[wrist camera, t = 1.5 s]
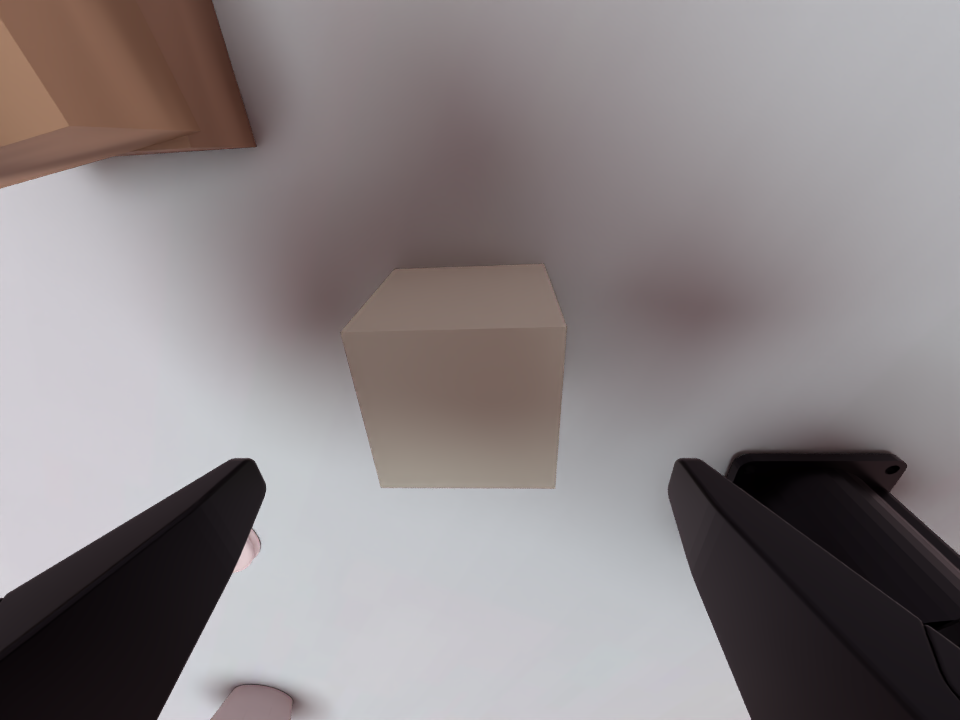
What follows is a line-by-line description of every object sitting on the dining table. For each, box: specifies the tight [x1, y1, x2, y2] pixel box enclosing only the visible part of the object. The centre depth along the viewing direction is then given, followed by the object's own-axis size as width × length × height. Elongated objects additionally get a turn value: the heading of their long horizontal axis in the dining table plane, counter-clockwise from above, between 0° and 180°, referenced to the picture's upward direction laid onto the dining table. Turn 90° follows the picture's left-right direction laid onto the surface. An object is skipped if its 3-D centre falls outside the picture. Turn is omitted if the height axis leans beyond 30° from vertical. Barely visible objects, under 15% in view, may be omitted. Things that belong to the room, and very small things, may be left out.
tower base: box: [116, 0, 257, 156], centre depth 9 cm, size 6×6×3 cm
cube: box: [340, 264, 567, 489], centre depth 12 cm, size 5×5×5 cm
